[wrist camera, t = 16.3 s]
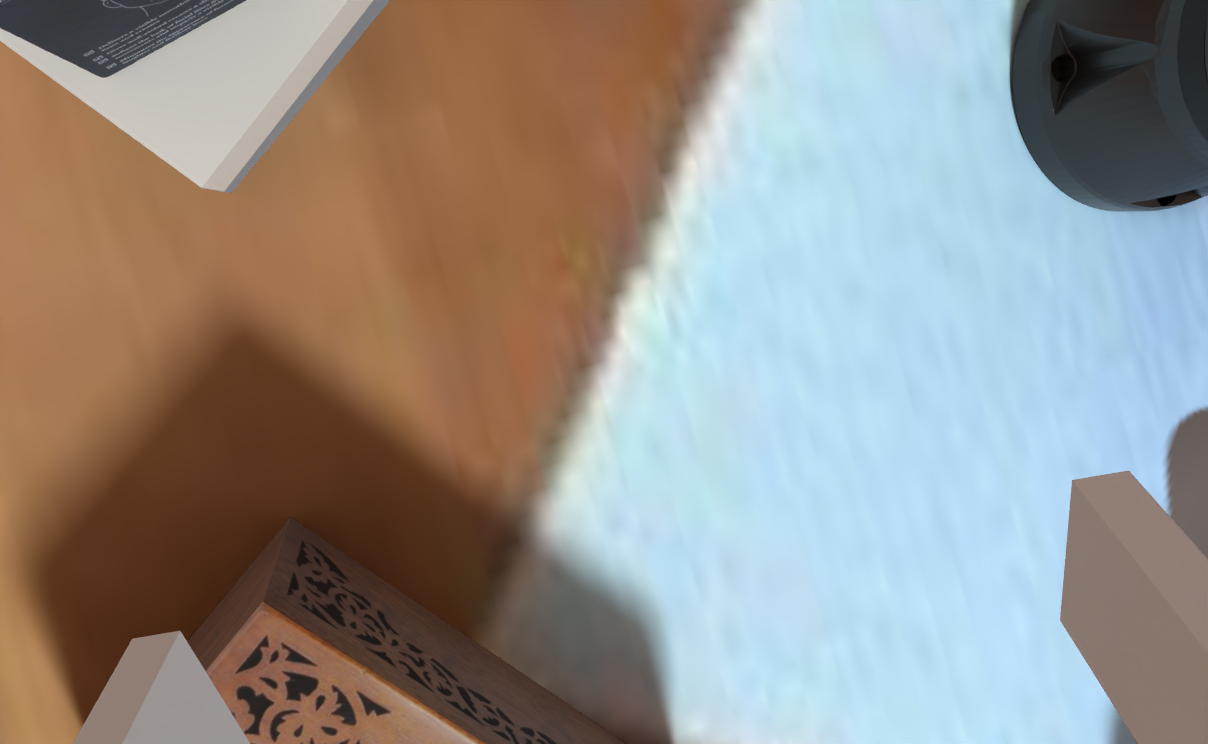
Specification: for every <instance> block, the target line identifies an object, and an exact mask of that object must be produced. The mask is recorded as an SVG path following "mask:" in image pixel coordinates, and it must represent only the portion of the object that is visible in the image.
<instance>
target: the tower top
mask: <svg viewBox="0 0 1208 744" xmlns="http://www.w3.org/2000/svg"><path fill="white" fill-rule="evenodd" d="M372 2H373V0H246V1H244V2H243V3H241V4H239V5H237V6H235V7H234V8H232V9H230V10H228V11H227V12H225V13H223V14H221V15H220V16H218V17H216V18H214V19H212V20H210V21H208V22H206V23H205V24H203V25H201V26H200V27H198V28H196V29H194V30H192V31H191V32H189V33H187V34H186V35H184V36H182V37H180V38H178V39H176V40H175V41H173V42H171V43H169V44H167V45H165V46H164V47H162V48H160V49H158V50H156V51H154V52H153V53H151V54H149V55H147V56H146V57H144V58H142V59H140V60H138V61H136V62H135V63H133V64H132V65H130V66H128V67H126V68H124V69H122V70H120V71H118V72H117V73H115V74H113V75H111V76H108V77H105V78H102V77H99V76H97V75H95V74H93V73H91V72H89V71H87V70H84V69H82V68H80V67H79V66H76V65H75V64H73V63H70V62H68V61H66V60H64V59H62V58H60V57H58V56H56V55H54V54H52V53H50V52H47V51H45V50H44V49H41V48H39V47H38V46H36V45H33V44H31V43H29V42H27V41H25V40H24V39H22V38H20V37H17V36H15V35H13V34H11V33H10V32H7V31H5V30H3V29H1V28H0V41H1V42H3V43H4V44H5V45H7V46H8V47H10V48H11V49H12V50H14V51H15V52H16V53H18V54H19V55H20V56H22V57H23V58H25V59H26V60H27V61H29V62H30V63H31V64H33V65H34V66H36V67H37V68H38V69H40V70H41V71H42V72H44V73H45V74H46V75H48V76H49V77H51V78H52V79H53V80H55V81H56V82H57V83H59V84H60V85H62V86H63V87H64V88H66V89H67V90H68V91H70V92H71V93H73V94H74V95H75V96H77V97H78V98H79V99H81V100H82V101H83V102H85V103H86V104H88V105H89V106H90V107H92V108H93V109H94V110H96V111H97V112H99V113H100V114H101V115H103V116H104V117H105V118H107V119H108V120H109V121H111V122H112V123H114V124H115V125H116V126H118V127H119V128H120V129H122V130H123V131H125V132H126V133H127V134H129V135H130V136H131V137H133V138H134V139H135V140H137V141H138V142H140V143H141V144H142V145H144V146H145V147H146V148H148V149H149V150H151V151H152V152H153V153H155V154H156V155H157V156H159V157H160V158H162V159H163V160H164V161H166V162H167V163H168V164H170V165H171V166H172V167H174V168H175V169H177V170H178V171H179V172H181V173H182V174H183V175H185V176H186V177H188V178H189V179H190V180H192V181H193V182H194V183H196V184H197V185H198V186H200V187H201V188H206V189H212V190H218V191H225V190H226V189H227V187H228V186H229V185H230V184H231V182H232V181H233V180H234V178H235V177H236V176H237V175H238V173H239V172H240V171H241V169H242V168H243V167H244V166H245V164H246V163H247V162H248V160H249V159H250V158H251V157H252V155H253V154H254V153H255V152H256V150H257V149H258V148H259V146H260V145H261V144H262V143H263V141H264V140H265V139H266V137H267V136H268V135H269V134H270V132H271V131H272V130H273V128H274V127H275V126H276V125H277V123H278V122H279V121H280V119H281V118H282V117H283V116H284V114H285V113H286V112H287V110H288V109H289V108H290V107H291V105H292V104H293V103H294V102H295V100H296V99H297V98H298V96H299V95H300V94H301V93H302V91H303V90H304V89H305V87H306V86H307V85H308V84H309V82H310V81H311V80H312V78H313V77H314V76H315V75H316V73H317V72H318V71H319V69H320V68H321V67H322V66H323V64H324V63H325V62H326V60H327V59H328V58H329V57H330V55H331V54H332V53H333V52H334V50H335V49H336V48H337V46H338V45H339V44H340V43H341V41H342V40H343V39H344V37H345V36H346V35H347V34H348V32H349V31H350V30H351V28H352V27H353V26H354V25H355V23H356V22H357V21H358V19H359V18H360V17H361V16H362V14H363V13H364V12H365V11H366V9H367V8H368V7H369V5H370V4H371V3H372Z"/></svg>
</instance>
